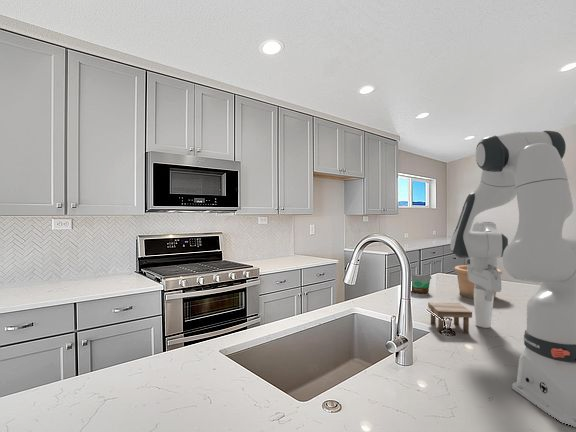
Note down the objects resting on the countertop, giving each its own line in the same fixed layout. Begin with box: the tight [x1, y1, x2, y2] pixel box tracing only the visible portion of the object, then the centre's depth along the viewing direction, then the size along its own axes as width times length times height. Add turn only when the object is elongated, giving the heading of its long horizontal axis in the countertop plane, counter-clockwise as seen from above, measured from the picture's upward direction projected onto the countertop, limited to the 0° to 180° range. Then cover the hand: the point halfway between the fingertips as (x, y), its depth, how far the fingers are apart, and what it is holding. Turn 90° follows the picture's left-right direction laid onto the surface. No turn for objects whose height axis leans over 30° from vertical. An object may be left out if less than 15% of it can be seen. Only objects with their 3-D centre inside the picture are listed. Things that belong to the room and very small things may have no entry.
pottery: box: [454, 264, 503, 299], centre depth 178 cm, size 22×22×14 cm
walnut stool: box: [427, 301, 473, 334], centre depth 130 cm, size 12×12×8 cm
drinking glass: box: [473, 286, 495, 329], centre depth 131 cm, size 7×7×15 cm
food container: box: [411, 274, 432, 295], centre depth 183 cm, size 12×6×10 cm, turn 73°
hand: (483, 298), depth 131 cm, fingers closed on drinking glass, 7 cm apart
